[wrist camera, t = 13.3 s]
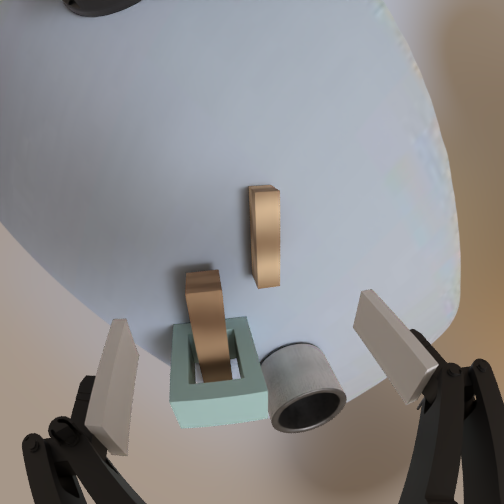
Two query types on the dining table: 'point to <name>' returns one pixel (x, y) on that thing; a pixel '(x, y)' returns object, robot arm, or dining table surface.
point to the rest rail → (265, 235)
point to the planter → (301, 389)
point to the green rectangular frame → (217, 393)
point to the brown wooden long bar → (208, 324)
